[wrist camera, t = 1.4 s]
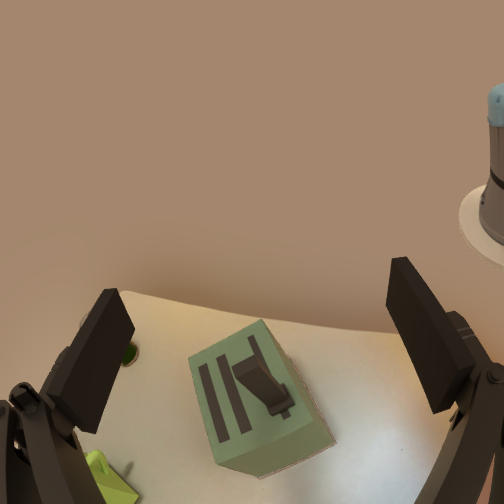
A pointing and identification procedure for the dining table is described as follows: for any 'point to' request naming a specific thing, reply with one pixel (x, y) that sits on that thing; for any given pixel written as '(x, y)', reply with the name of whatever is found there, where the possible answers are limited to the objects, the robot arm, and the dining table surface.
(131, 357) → the green soda can
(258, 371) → the slider
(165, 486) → the dining table surface
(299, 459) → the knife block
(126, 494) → the teapot
